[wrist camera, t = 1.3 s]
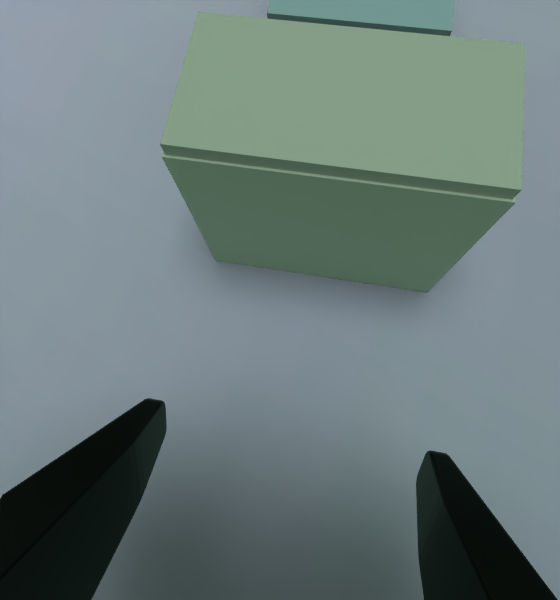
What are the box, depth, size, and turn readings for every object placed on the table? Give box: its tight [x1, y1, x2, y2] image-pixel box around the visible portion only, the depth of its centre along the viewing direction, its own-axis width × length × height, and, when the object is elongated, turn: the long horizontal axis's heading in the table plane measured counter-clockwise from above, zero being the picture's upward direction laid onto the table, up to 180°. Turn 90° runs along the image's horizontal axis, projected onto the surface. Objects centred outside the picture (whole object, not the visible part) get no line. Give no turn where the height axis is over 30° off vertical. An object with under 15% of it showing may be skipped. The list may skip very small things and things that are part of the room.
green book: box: [160, 12, 525, 292], centre depth 20 cm, size 6×12×11 cm, turn 80°
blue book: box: [267, 0, 454, 36], centre depth 21 cm, size 4×7×10 cm, turn 80°
